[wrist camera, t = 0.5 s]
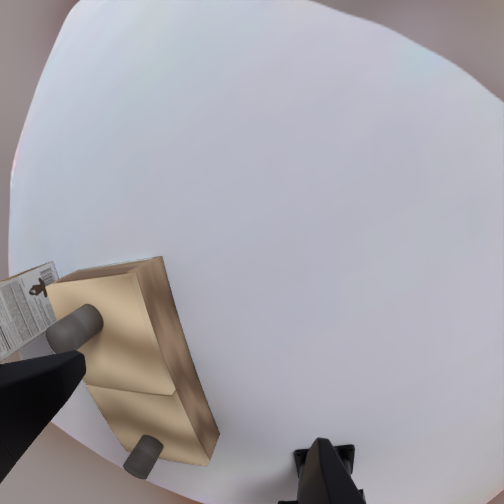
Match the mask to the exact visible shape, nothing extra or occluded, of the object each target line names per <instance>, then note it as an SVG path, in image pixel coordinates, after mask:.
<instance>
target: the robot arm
mask: <svg viewBox="0 0 504 504" xmlns="http://www.w3.org/2000/svg"><path fill="white" fill-rule="evenodd" d="M85 374H86V361H85V356H84V354H83V353H81V352H79V351H78V350H72V351H67V352H62V353H58V354H53V355H48V356H43V357H38V358H33V359H27V360H22V361H17V362H11V363H5V364H3V365H2V364H0V483H1V482H2V481H3V479H4V478H5V477H6V476H7V474H8V473H9V472H10V470H11V469H12V468H13V467H14V465H15V464H16V462H17V461H18V460H19V459H20V457H21V456H22V455H23V454H24V452H25V451H26V450H27V449H28V447H29V446H30V445H31V444H32V442H33V441H34V440H35V439H36V438H37V436H38V435H39V434H40V433H41V432H42V430H43V429H44V427H46V425H47V424H48V423H49V422H50V421H51V420H52V418H53V417H54V416H55V415H56V414H57V412H58V411H59V410H60V409H61V408H62V407H63V405H64V404H65V403H66V402H67V400H68V399H69V398H70V396H71V395H72V393H73V392H74V390H75V389H76V387H77V386H78V384H79V383H80V382H81V380H82V379H83V377H84V376H85ZM354 453H355V447H354V445H345V446H337V447H333V446H332V444H331V442H330V440H329V439H326V438H320V437H319V438H317V439H316V440H315V441H314V443H313V444H312V446H311V447H310V449H303V450H296V451H295V461H296V466H297V472H298V478H299V484H298V494H297V500H295V501H278V504H366V500H365V496H364V491H363V489H360V490H358V489H357V487H356V485H355V484H354V482H353V480H352V479H351V474H352V472H353V463H354Z"/></svg>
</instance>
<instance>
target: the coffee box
mask: <svg viewBox="0 0 504 504" xmlns="http://www.w3.org/2000/svg"><path fill="white" fill-rule="evenodd" d="M58 279H59V278H58V275H57V272H56V270H55V267H54V264H53V262H48V263H45V264H43V265H40V266H37V267H35V268H32V269H30V270H27V271H24V272H22V273H19V274H17V275H14V276H12V277H10V278H7V279H5V280H2V281H0V362H1V361H3V360H4V359H6V358H7V357H9V356H10V355H11V354H13V353H14V352H16V351H17V350H19V349H20V348H22V347H23V346H25V345H26V344H28V343H29V342H31V341H32V340H33V339H35V338H36V337H38V336H39V335H41V334H42V333H44V332H45V331H46V330H47V328H48V327H49V326H51V325H52V324H54V323H56V322H57V320H56V317H55V314H54V311H53V309H52V306H51V303H50V300H49V297H48V294H47V291H46V288H45V287H46V286H48V285H50V284H52V282H54V281H56V280H58Z"/></svg>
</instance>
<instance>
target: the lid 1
mask: <svg viewBox="0 0 504 504" xmlns="http://www.w3.org/2000/svg"><path fill="white" fill-rule="evenodd" d="M45 288H46V291H47V294H48V297H49V300H50V303H51V306H52V309H53V311H54V314H55V317H56V320H57V322H56V323H54V324H52V325H51V326H49V327H48V328H47V330H46V337H47V340H48V342H49V344H50V346H51V348H52V349H53V350H54V352H55V353H56V354H58V353H62V352H67V351H72V350H78V351H79V352H81V353H83V354H84V356H85V361H86V374H85V376H84V377H83V380H84V382H85V383H87V384H92V385H98V386H103V387H109V388H115V389H122V390H129V391H136V392H144V393H153V394H163V395H172V394H173V393H174V391H175V390H176V389H175V386H174V384H173V381H172V379H171V376H170V374H169V371H168V369H167V366H166V364H165V361H164V358H163V356H162V353H161V350H160V347H159V345H158V342H157V339H156V336H155V333H154V330H153V327H152V324H151V321H150V318H149V315H148V312H147V309H146V306H145V303H144V299H143V296H142V293H141V289H140V286H139V282H138V279H137V275H136V273H128V274H121V275H114V276H107V277H99V278H92V279H85V280H77V281H70V282H62V283H55V284H50V285H48V286H46V287H45Z"/></svg>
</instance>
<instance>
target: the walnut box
mask: <svg viewBox="0 0 504 504" xmlns="http://www.w3.org/2000/svg"><path fill="white" fill-rule="evenodd" d="M128 273H136V275H137V279H138V282H139V286H140V289H141V293H142V296H143V299H144V303H145V306H146V309H147V312H148V315H149V318H150V321H151V324H152V327H153V330H154V333H155V336H156V339H157V342H158V345H159V347H160V350H161V353H162V356H163V358H164V361H165V364H166V366H167V369H168V371H169V374H170V376H171V379H172V381H173V384H174V386H175V389H176V390H175V391H177V393H178V396H179V398H180V400H181V403H182V405H183V407H184V409H185V412H186V414H187V416H188V418H189V420H190V423H191V425H192V427H193V429H194V431H195V433H196V435H197V437H198V439H199V441H200V443H201V445H202V447H203V449H204V451H205V453H206V455H207V457H208V459H209V460H210V459H211V456H212V454H213V451H214V448H215V446H216V443H217V440H218V438H219V435H220V433H219V430H218V428H217V425H216V423H215V420H214V418H213V415H212V413H211V410H210V408H209V405H208V402H207V400H206V397H205V394H204V392H203V389H202V386H201V383H200V381H199V378H198V375H197V372H196V369H195V366H194V363H193V361H192V358H191V355H190V352H189V348H188V345H187V342H186V339H185V336H184V333H183V330H182V326H181V323H180V320H179V316H178V313H177V310H176V306H175V303H174V299H173V296H172V292H171V288H170V285H169V281H168V277H167V273H166V269H165V265H164V261H163V257H162V256H159V257H153V258H147V259H141V260H134V261H128V262H122V263H116V264H110V265H104V266H98V267H93V268H87V269H81V270H78V271H75V272H73V273H71V274H69V275H67V276H65V277H62V278H60V279H58V280H56V281H54V282H52V284H55V283H62V282H70V281H77V280H85V279H92V278H99V277H107V276H114V275H121V274H128Z"/></svg>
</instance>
